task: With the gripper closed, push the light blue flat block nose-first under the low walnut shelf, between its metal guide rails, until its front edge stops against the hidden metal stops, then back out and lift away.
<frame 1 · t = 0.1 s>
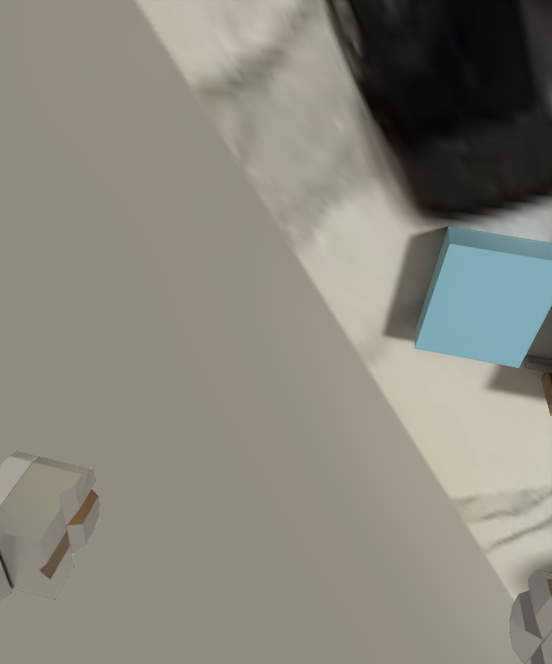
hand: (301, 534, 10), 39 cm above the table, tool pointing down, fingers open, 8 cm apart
light blue flat block: (483, 291, 50), on the table
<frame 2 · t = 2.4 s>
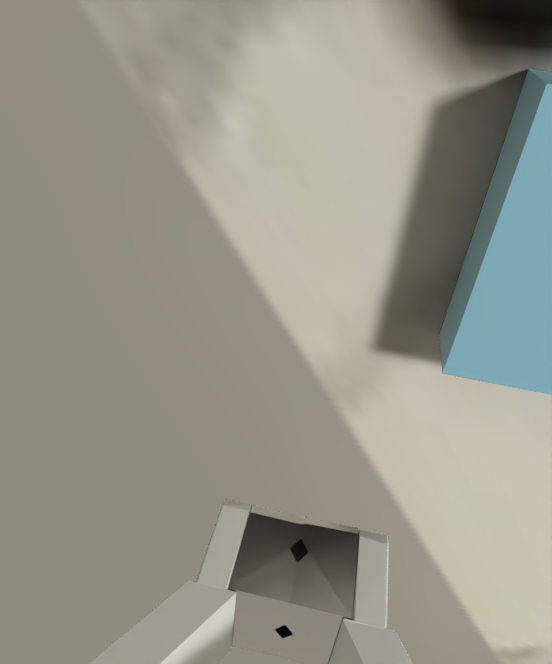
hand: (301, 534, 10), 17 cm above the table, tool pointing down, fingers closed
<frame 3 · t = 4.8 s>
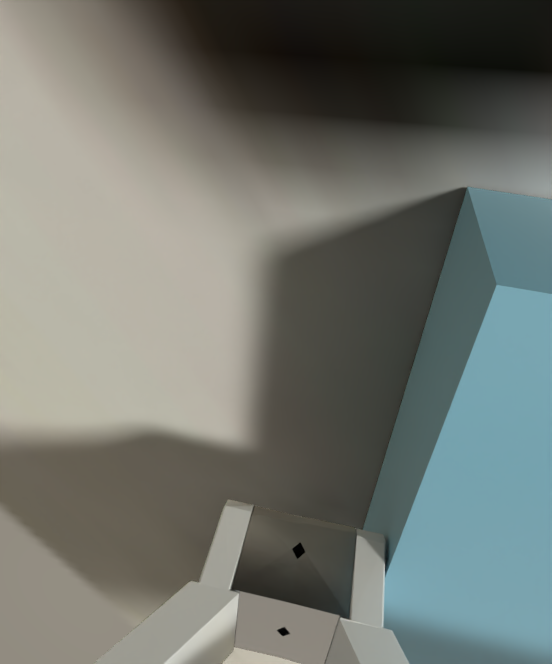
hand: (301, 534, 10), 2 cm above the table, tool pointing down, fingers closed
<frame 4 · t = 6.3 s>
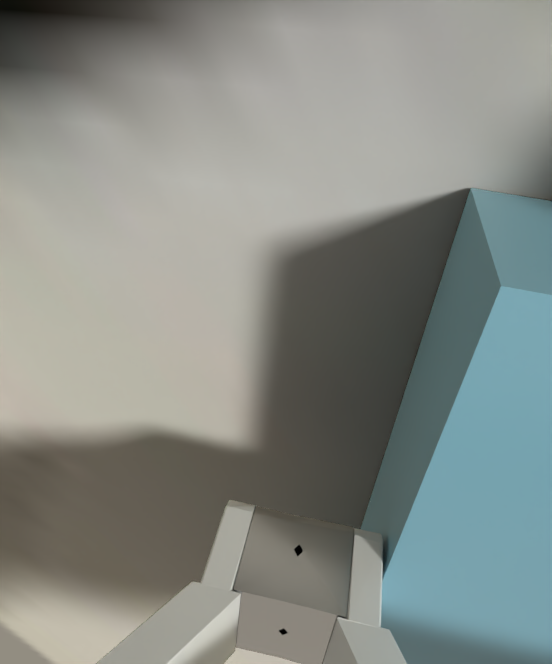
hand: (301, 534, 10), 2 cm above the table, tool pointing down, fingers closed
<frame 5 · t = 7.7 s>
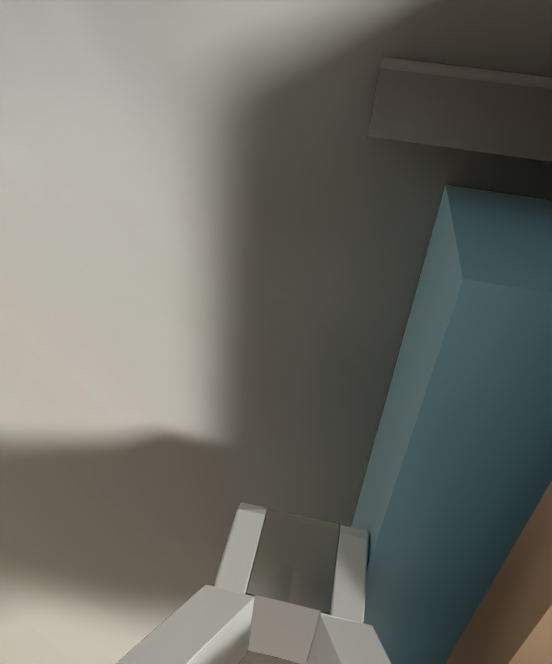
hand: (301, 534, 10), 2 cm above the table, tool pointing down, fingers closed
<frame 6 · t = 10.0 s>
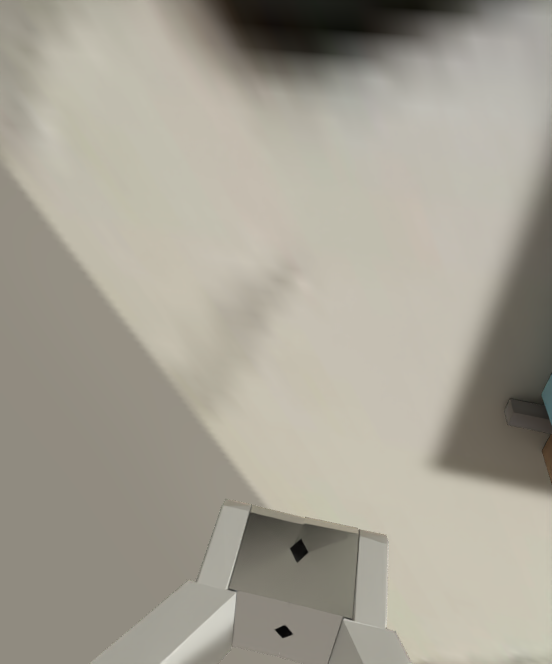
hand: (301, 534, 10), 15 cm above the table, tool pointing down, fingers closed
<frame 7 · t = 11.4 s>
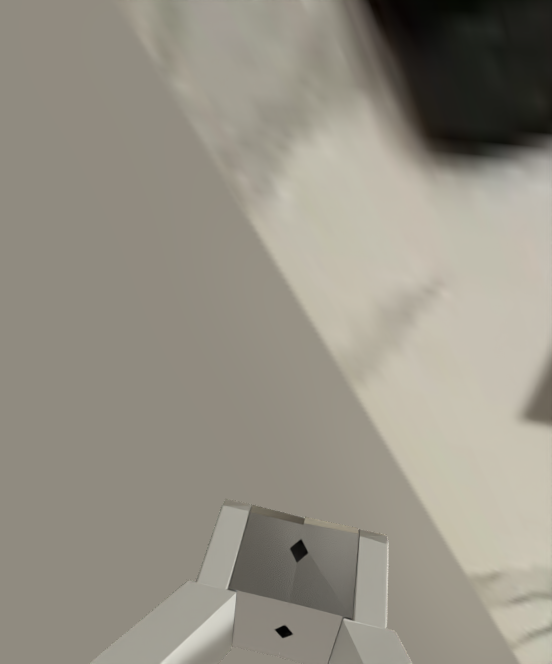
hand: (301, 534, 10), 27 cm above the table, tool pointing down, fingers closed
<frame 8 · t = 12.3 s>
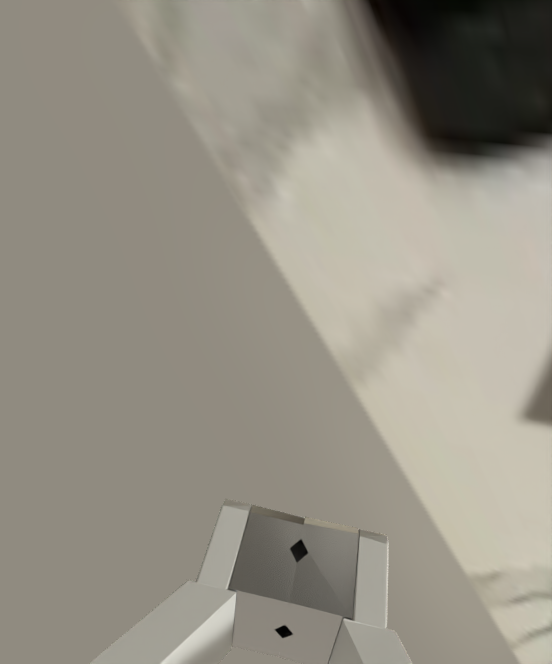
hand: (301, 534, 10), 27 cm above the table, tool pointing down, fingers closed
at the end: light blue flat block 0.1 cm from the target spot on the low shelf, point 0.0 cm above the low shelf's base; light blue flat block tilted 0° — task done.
